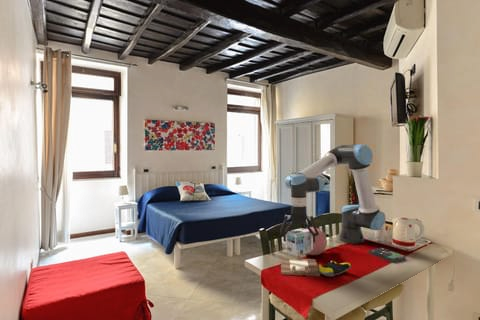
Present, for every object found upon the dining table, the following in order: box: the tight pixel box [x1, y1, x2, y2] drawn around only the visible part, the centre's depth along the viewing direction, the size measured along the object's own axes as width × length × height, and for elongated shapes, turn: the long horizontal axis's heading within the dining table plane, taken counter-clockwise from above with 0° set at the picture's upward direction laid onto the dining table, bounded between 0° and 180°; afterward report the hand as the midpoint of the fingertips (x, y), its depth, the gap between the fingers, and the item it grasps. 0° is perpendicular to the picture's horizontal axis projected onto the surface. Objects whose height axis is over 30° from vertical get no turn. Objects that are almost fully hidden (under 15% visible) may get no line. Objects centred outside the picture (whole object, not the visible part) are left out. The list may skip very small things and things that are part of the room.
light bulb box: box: [286, 227, 311, 257], centre depth 139 cm, size 11×7×11 cm, turn 123°
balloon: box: [305, 226, 328, 256], centre depth 158 cm, size 15×20×15 cm
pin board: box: [280, 255, 321, 277], centre depth 139 cm, size 18×18×4 cm
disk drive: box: [368, 247, 406, 264], centre depth 153 cm, size 10×3×15 cm
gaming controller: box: [318, 260, 352, 277], centre depth 131 cm, size 15×6×10 cm
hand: (299, 248), depth 139 cm, fingers closed on light bulb box, 12 cm apart
